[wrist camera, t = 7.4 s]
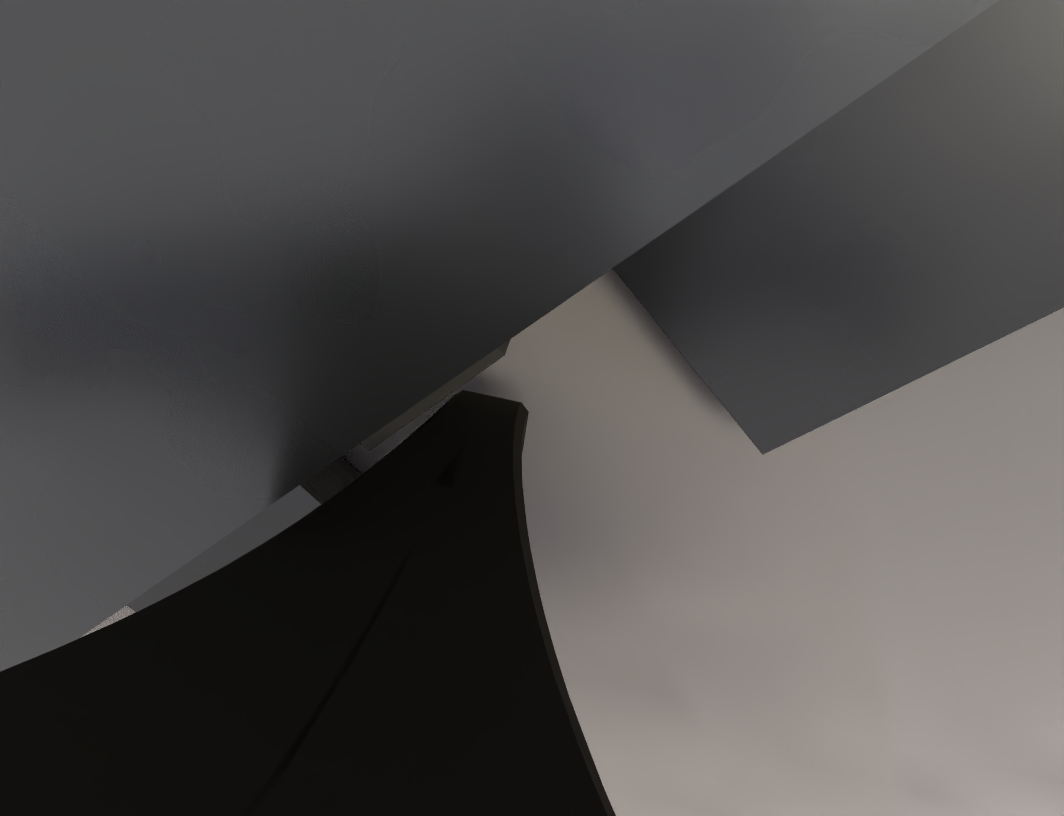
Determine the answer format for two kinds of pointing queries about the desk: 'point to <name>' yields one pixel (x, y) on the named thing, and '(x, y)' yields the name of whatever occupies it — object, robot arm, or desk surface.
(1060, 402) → the desk surface
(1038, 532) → the desk surface
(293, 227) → the housing
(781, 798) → the desk surface
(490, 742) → the robot arm
